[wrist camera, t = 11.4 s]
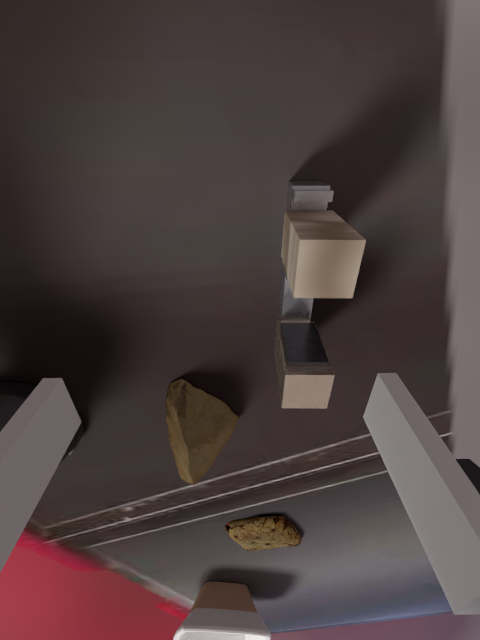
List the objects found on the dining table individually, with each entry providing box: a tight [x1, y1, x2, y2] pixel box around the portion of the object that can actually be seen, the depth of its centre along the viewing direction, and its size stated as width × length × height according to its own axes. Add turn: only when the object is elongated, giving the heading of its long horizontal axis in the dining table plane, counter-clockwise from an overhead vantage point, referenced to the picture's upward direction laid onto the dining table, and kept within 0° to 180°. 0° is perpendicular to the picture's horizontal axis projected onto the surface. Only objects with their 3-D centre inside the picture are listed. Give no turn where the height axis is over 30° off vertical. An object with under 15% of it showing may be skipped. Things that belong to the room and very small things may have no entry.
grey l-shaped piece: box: [274, 181, 335, 408], centre depth 26 cm, size 19×4×10 cm, turn 0°
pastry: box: [225, 516, 301, 551], centre depth 62 cm, size 17×17×3 cm
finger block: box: [281, 210, 366, 298], centre depth 22 cm, size 4×4×8 cm
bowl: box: [174, 582, 271, 640], centre depth 79 cm, size 24×25×11 cm
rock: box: [166, 379, 239, 485], centre depth 38 cm, size 11×9×10 cm
